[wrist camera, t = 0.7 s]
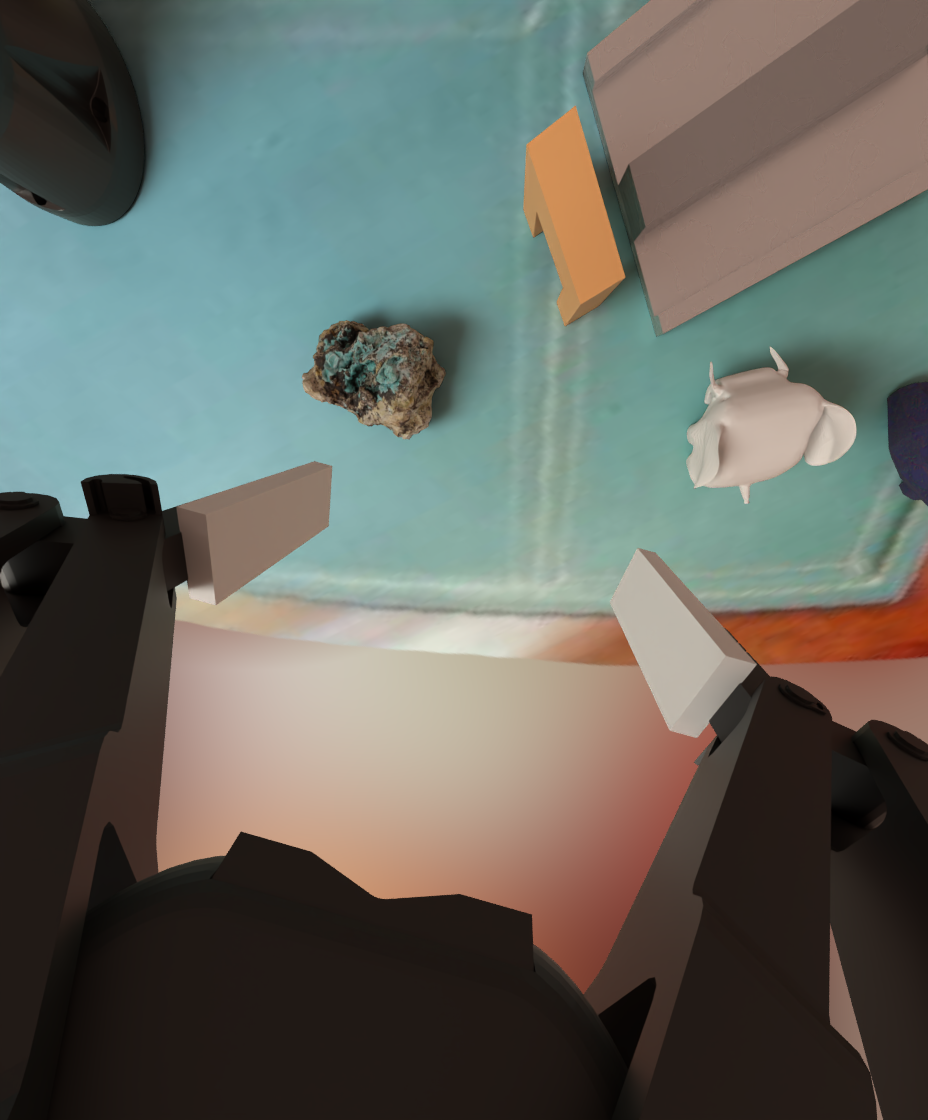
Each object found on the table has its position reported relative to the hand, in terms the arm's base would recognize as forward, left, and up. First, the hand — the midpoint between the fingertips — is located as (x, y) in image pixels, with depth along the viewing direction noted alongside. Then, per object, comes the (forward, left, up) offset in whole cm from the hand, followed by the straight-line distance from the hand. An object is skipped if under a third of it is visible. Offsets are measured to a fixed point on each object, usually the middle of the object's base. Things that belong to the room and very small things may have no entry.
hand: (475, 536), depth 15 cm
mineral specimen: (-12, -7, -24) cm, 28 cm away
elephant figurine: (+7, +20, -24) cm, 32 cm away
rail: (-12, +26, -24) cm, 37 cm away
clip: (-12, +12, -24) cm, 29 cm away
